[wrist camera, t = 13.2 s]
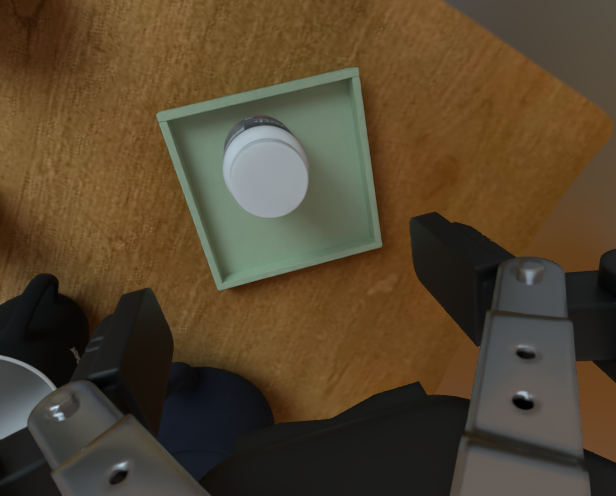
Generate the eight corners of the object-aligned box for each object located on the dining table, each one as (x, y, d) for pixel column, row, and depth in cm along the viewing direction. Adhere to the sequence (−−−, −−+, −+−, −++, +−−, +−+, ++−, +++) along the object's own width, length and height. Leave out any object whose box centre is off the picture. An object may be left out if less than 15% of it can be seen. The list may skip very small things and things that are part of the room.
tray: (159, 111, 31) (155, 114, 29) (351, 67, 32) (358, 67, 30) (218, 280, 38) (218, 291, 36) (375, 238, 39) (382, 247, 37)
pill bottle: (307, 138, 33) (336, 165, 24) (272, 196, 35) (287, 243, 26) (245, 98, 31) (251, 113, 22) (210, 163, 33) (204, 200, 24)
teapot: (284, 465, 49) (301, 580, 38) (153, 496, 47) (131, 626, 36) (249, 288, 38) (258, 378, 27) (77, 320, 37) (14, 430, 26)
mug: (90, 370, 39) (48, 464, 30) (-18, 349, 36) (-100, 444, 27) (123, 265, 35) (88, 334, 26) (7, 231, 32) (-79, 296, 23)
